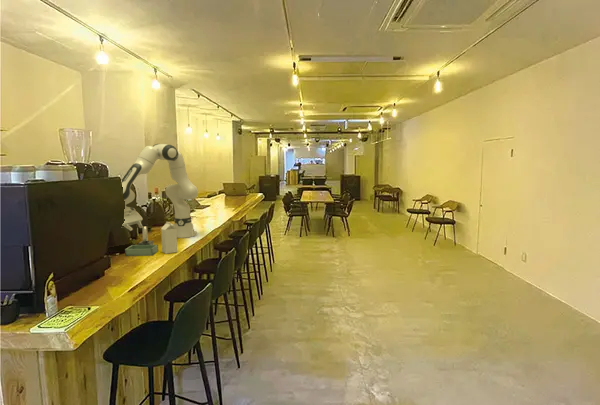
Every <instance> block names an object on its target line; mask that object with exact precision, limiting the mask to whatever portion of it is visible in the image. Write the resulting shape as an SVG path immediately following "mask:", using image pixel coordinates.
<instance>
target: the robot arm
mask: <svg viewBox="0 0 600 405" xmlns="http://www.w3.org/2000/svg"><path fill="white" fill-rule="evenodd" d="M157 160H162V161H167V162H168V168H169V172H170V177H171V179H172V180H173V181H175V183H174V184H168V185H166V186H167V187H166V188H165V195H166V197H167V198H168V199H170V202H171V203H172V205H173V209H174V220H173V221H174V223H173V225H174V226H173V227H175V228H176V231H177V239H178V238H179V239H181V238H182V239H183V238H185V239H186V238H191V237H196V236H197V230H195V229H194V225H193V223H192V216H191V206H190V205H189V204H187V203H186V202H185V200H193V199H194V200H195V199H196V198H197V197H198V196H199V190H198V187H197V186H196V185H195V184H193V182H192V181H191V180H190V179H189V176H188V173H187V169H186V163H185V160H184V157H183V154H182V153H181V152H180V151H178V149H177V148H176V146H174V145H171V144H167V143H156V144H154V145H146V146H145V147H144V148H143V149H142V150H141V151H140V153H139V154H138V156H137V157H136V159H135V160H134V162H133V164H132V165H131V166H130V167H129V169H128V170H127V171H126V173H125V174H124V176H123V177H122V178H121V180H122V187H123V198H124V201H125V209H124V219H125V221H124V223H123V224H122V226H124V227H123V228H126V229H127V230H129V231H130V232H131V231H133V230H134V228H133V227H132V225H136V224H137V225H138V228H139V229H142V227H143V224H142V221H143V217H142V216H141V215H140V213H139V212H138V211H136V209H135V208H134V207H130V206H127V205H128V204H130V203H132V202H134V200H135V199H136V194H135V191H133V190H132V189H131V186H132V184H134V182H135V181H136V179H137V178H138V177H139V176H140V175H145V174H148V173H149V172H150V171H151V170H152V168H153V167H154V165H155V163H156V162H157Z"/></svg>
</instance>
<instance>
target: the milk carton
mask: <svg viewBox="0 0 600 405" xmlns="http://www.w3.org/2000/svg"><path fill="white" fill-rule="evenodd" d="M173 226H174V223H171V222H170V221H165V223H164V225H163V226H161V228H160V232H161V251H162V253H163V254H166V255H167V254H172V253H173V254H174V253H178V238H177V231H176V228H175V227H173Z"/></svg>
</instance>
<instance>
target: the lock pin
mask: <svg viewBox="0 0 600 405" xmlns="http://www.w3.org/2000/svg"><path fill="white" fill-rule="evenodd" d="M142 226H143V225H142ZM141 230H142V241H143V243H148V241H149V234H148V233H149V232H148V225H147V226H146V225H145V226H143V227H142V228H141Z"/></svg>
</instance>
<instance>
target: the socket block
mask: <svg viewBox="0 0 600 405" xmlns="http://www.w3.org/2000/svg"><path fill="white" fill-rule="evenodd" d="M137 245H154V241H153V240H148V243H143V240H141V241H139V242H138V243H137Z"/></svg>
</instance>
